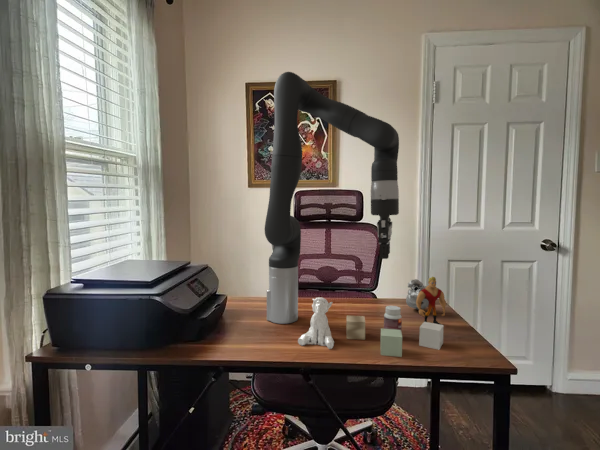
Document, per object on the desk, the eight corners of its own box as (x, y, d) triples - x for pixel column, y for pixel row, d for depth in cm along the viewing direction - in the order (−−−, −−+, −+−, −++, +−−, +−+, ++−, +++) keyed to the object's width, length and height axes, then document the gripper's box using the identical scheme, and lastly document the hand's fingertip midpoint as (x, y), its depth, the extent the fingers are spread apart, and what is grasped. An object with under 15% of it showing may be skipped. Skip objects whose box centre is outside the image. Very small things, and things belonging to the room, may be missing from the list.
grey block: (419, 345, 93) (419, 327, 92) (423, 339, 97) (424, 321, 96) (439, 350, 90) (439, 330, 90) (443, 343, 94) (443, 325, 94)
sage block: (380, 355, 87) (381, 335, 86) (380, 347, 92) (380, 328, 91) (401, 357, 86) (402, 337, 85) (400, 349, 91) (400, 329, 90)
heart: (442, 315, 115) (440, 278, 117) (414, 316, 114) (412, 279, 115) (426, 311, 125) (425, 277, 127) (401, 312, 124) (400, 278, 125)
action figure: (419, 327, 106) (420, 277, 105) (414, 323, 110) (415, 275, 109) (449, 325, 107) (450, 277, 106) (442, 321, 111) (444, 274, 110)
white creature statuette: (297, 345, 92) (297, 300, 91) (305, 334, 101) (305, 292, 100) (332, 349, 90) (333, 303, 89) (338, 337, 98) (338, 294, 97)
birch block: (346, 339, 97) (346, 321, 97) (346, 332, 102) (346, 315, 102) (365, 339, 96) (365, 321, 96) (364, 333, 101) (364, 316, 101)
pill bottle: (402, 341, 95) (402, 310, 95) (384, 339, 96) (384, 309, 96) (400, 334, 100) (401, 305, 99) (383, 333, 101) (383, 304, 100)
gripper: (373, 198, 105) (373, 252, 106) (368, 197, 92) (368, 259, 92) (399, 197, 103) (399, 253, 104) (398, 197, 89) (398, 260, 90)
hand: (385, 256), depth 98 cm, fingers open, 8 cm apart
